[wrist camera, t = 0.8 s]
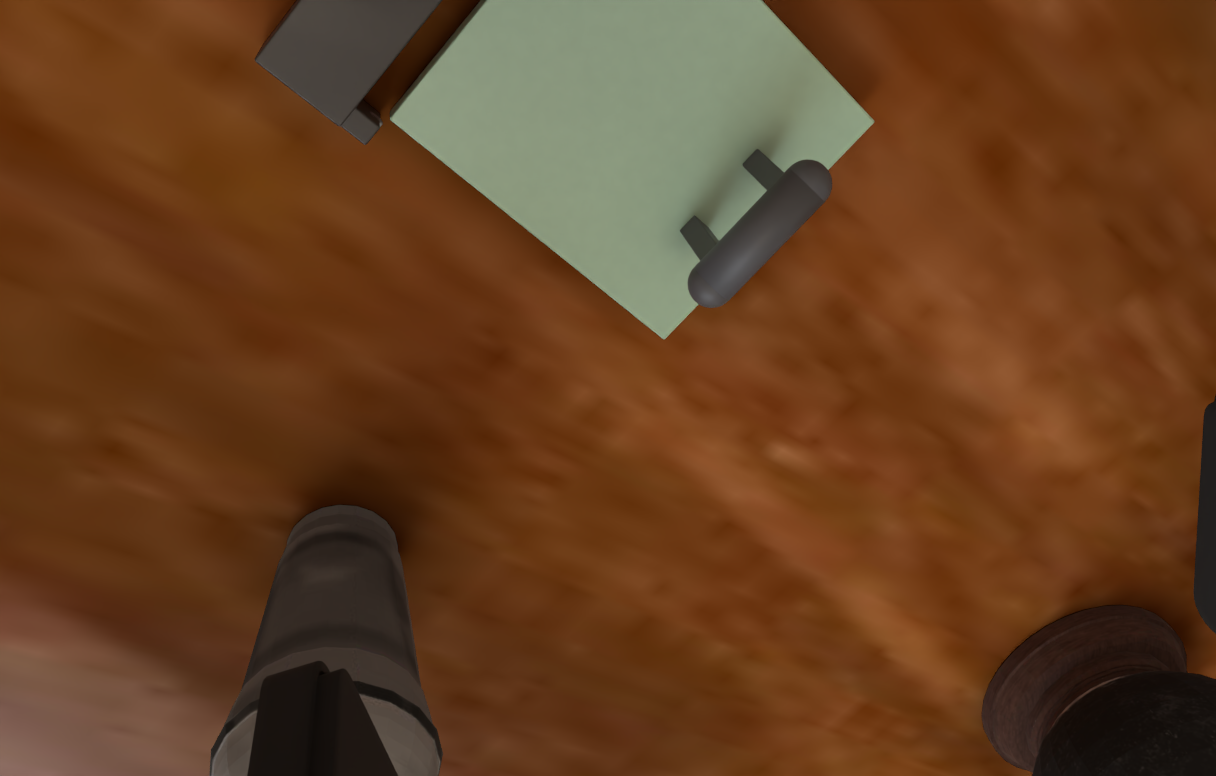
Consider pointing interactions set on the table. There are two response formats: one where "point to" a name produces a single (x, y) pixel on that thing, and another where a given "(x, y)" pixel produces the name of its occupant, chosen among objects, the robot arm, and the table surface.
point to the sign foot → (342, 53)
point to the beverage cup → (340, 636)
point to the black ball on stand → (1103, 700)
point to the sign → (639, 137)
